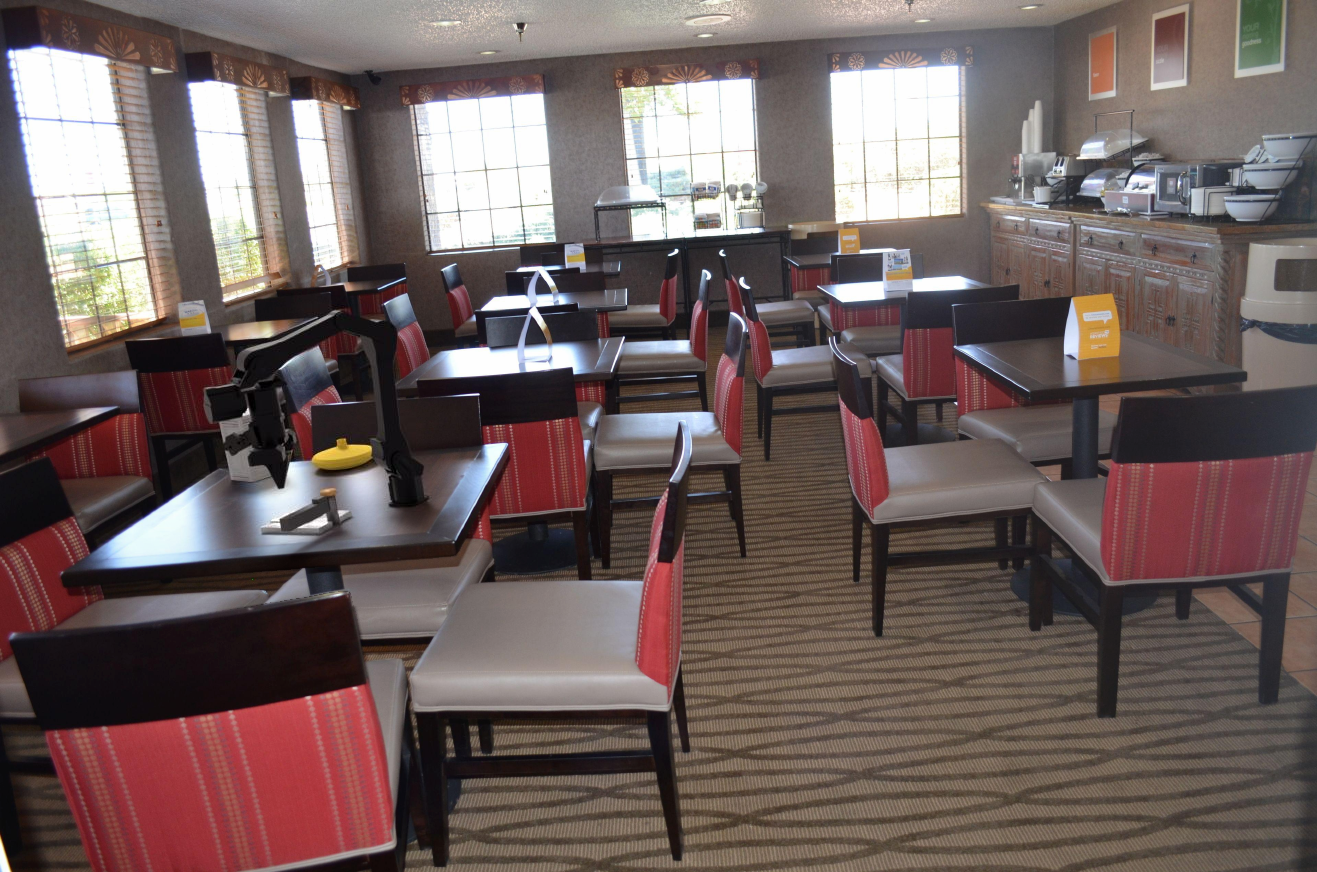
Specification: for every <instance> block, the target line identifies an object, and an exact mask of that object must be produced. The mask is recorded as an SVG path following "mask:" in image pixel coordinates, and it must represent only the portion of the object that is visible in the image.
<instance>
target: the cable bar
mask: <svg viewBox="0 0 1317 872" xmlns="http://www.w3.org/2000/svg"><path fill="white" fill-rule="evenodd" d="M319 494H320V495H318V496H316V497H314V498H312V499H311V503H310V504H307V505H305V506H303V507H301V508H299V509H296V510H297V511H295V512H293V513H291V514H289V515H286V516H284V517H282V518H280V519H279V521H280V526H281V531H284V532H290V531H292V530H294V529H296V528H298V527H300V526H302V525H304V524H306V523H308V522H310V521H312V520H314V519H316V518H318V517H320V516H322V515H324V514H326V513H328V512H330V510H329V504H328V500H327V497H329V496H333V495H335V496H336V495H337V494H338V491H337V488H334V487H333V488H332V487H331V488H326V489H325V488H324V489H322V490H320V491H319Z"/></svg>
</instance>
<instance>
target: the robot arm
mask: <svg viewBox="0 0 1317 872" xmlns="http://www.w3.org/2000/svg"><path fill="white" fill-rule="evenodd" d="M341 332H343V333H346V334H348V335H350V336H354V337H357V338H359V339H360V341H361V344H362V345H361V346H362V348H363V351H364V353H365V355H366V356H367V360H369V363H370V368H371V369H370V370H371V376H372V377H371V379H372V385H373V394H374V405H375V410H376V420H377V428H378V429H377V430H378V431H377V432H376V433H377V434H376V436H375V438H369V443H370V446H371V447H372V453H371V457H373V458H372V459H374V461H375V463H376V465H377V466H379V467H381V468H383V469H384V470H385V473H386V474H388V483H387V485H388V492H389V499H390V501H391V502H388V506H390V507H395V506H396V507H399V506H401V507H413V506H414V507H415V506H417V505H418V504H420V503H422V502H423V501H425V500H426V499H428V498H429V497H430V495H429V494H425V490H424V484H423V478H422V477H423V475H424V468H425V465H424V464H423V463H421V462H420V461H418V460H417V459H415V458H413V457H412V453H411V449H410V447H409V442H408V440H407V439H406V437H405V434H404V433H403V431H402V428H401V421H400V411H399V402H398V401H399V400H398V394H397V385H396V376H395V375H396V374H395V367H394V365H395V364H394V362H395V358H396V354H397V350H398V343H399V341H398V340H399V339H398V338H399V332H398V329H397V326H396V325H394V324H393V322H391V321H389V320H383V319H368V318H365V317H362V316H361V317H360V316H358V315H355V314H352V313H350V312H347V311H345V310H336V309H335V310H332V311H330V312H329V313H328V314H327V315H325V316H323V317H321V318H319V319H317V320H315V321H313V322H311V323H309V324H307V325H305V326H303V327H302V328H301V327H300V329H299V328H298V330H295V331H293V332H291V333H289V334H288V335H286V336H283V337H282V338H279V339H276V340H274V341H270V342H265V343H261V344H257V345H254V346H251V347H248V348H245V349H243V350H242V351H240V352H239V353H237V354H238V355H237V359H236V369H235V371H234V372H233V375H232V376H231V378H230V381H228V384H224V385H220V386H207V387H203V394H204V395H203V405H202V406H203V410H204V413H205V416H206V419H207V421H208V423H209V424H210V425H212V424H217V423H219V422H222V421H227V420H232V419H237V418H241V417H242V416H243V413H246V411H247V408H249V412H250V417H251V421H250V422H249V423H248V428H246V429H244V430H242V431H240V432H238V433H234V432H233V433H232V434H230V435H227V436H226V437H225V441H224V442H223V441H222V444H223V445H224V446H223V449H224V452H225V451H228V452H229V453H230V455H231V456H234V455H236V454H237V453H238V452H240V451H242V450H244V449H245V448H247V447H249V446H251V445H252V448H254V449H253V450H252V452H251V453H250V454H249V456H248V457H247V458H248V463H249V466H250V467H253V466H260V465H264V466H266V467H267V469H268V471H269V472H270V474H271V479H272V480H273V482H274V484H275V486H276V487H277V490H283V489H285V486H286V481H287V477H288V473H289V468H290V463H291V460H292V454H293V450H294V449H293V448H287V449H285V444H286V443H291V445H294V444H296V443H297V437H296V432H295V431H293V430H292V429H291V428H286V427H285V423H284V420H285V418H286V417H285V413H284V412H283V411H282V407H281V404H280V399H279V393H278V388H281V387H286V386H288V382H287V381H284V380H283V379H282V378H280V377H279V376H278V375H277V374H275V373H276V372H278V371H279V370H280V369H281V368H283V366H284V365H285V364H287V362H288V361H290V360H291V359H292V358H294V357H295V356H298V355H299V354H301V353H303V352H305V351H307V350H309V349H311V348H313V347H315V346H317V345H318V344H320V343H322V342H323V341H325V340H328V339H330V338H331V337H334V336H336V335H338V334H339V333H341ZM268 378H269V379H268Z"/></svg>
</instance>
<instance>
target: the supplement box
mask: <svg viewBox="0 0 1317 872" xmlns="http://www.w3.org/2000/svg"><path fill="white" fill-rule="evenodd" d="M250 421H251V417H250V412H249V408H248V407H247V411H246V413H243V416H242V417H241V418H237V419H232V420H227V421H222V422H218V423H219V427H220V432H221V436H222V438H221V439H222V443H223V442H224V441H225V437H226V436H227V435H230V434H232V433H233V432H234V433H238V432H240V431H242V430H244V429H246V428H248V423H249V422H250ZM253 449H254V448H252V445H251V446H249V447H247V448H245V449H244V450H242V451H240V452H238V453H237V454H236V455H234V456H231V455H230V453H229V452H228V451H225V450H224V452H225V456H226V460H227V465H228V470H229V477H230V480H231V481H238V482H239V481H240V482H250V483H255V482H258V481H261V480H263V479H267V478H269V477H271V478H272V476H271V474H270V472H269V471H268V469H267V467H266V466H264V465H260V466H253V467H250V466H249V463H248V458H247V457H248V456H249V454H250V453H251V452H252V450H253Z"/></svg>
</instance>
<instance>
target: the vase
mask: <svg viewBox="0 0 1317 872" xmlns="http://www.w3.org/2000/svg"><path fill="white" fill-rule="evenodd" d="M336 443H337V444H336V446H335V447H331V448H328V449H325V450H323V451H320V452H318V453H316V454H315V455H313V457H312V458H311V463H312V464H313V466H314V467H316V468H319V469H323V470H325V471H326V470H327V471H329V470H330V471H338V470H341V471H342V470H346V469H352V468H355V467H359V466H361V465H364V464H366V463H367V462H369V461H370V460H372V459H374V458H373V457H371V453H372V447H371V445H368V444H367V445H366V444H348V443H347V438H339V439H337V440H336Z"/></svg>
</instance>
